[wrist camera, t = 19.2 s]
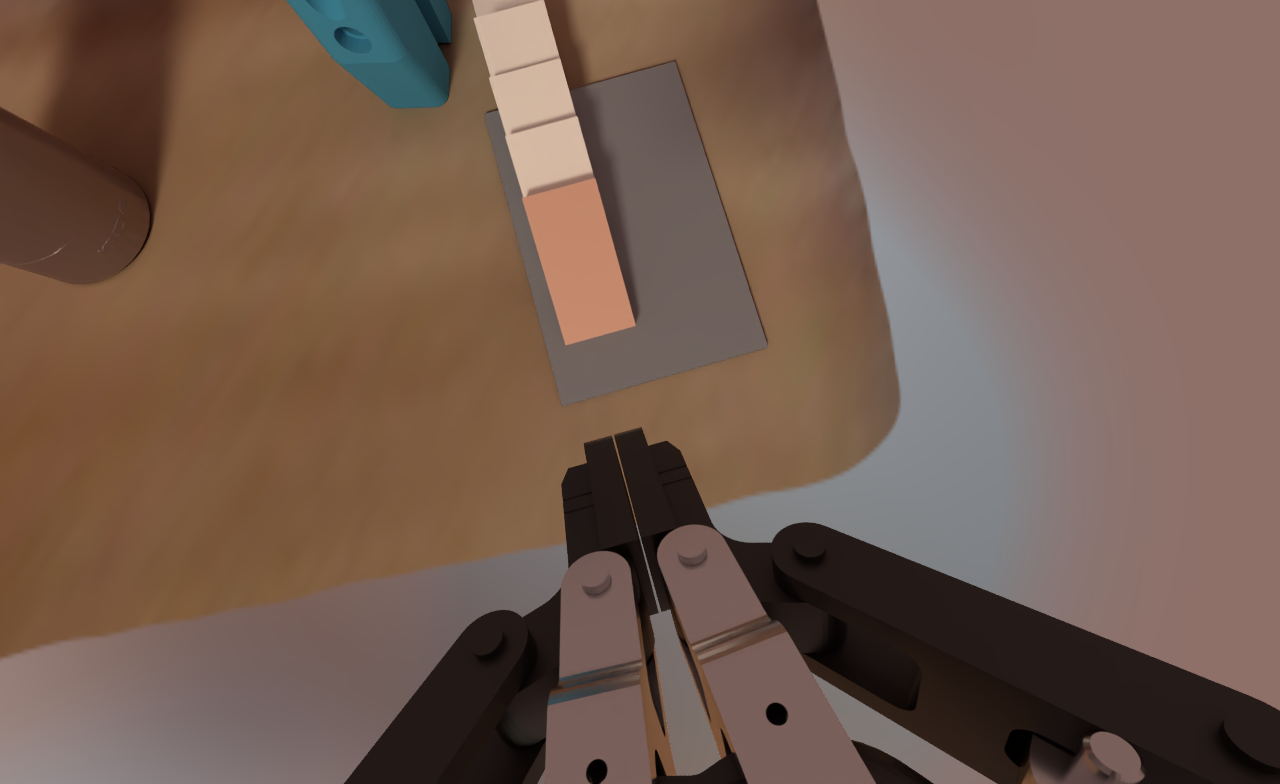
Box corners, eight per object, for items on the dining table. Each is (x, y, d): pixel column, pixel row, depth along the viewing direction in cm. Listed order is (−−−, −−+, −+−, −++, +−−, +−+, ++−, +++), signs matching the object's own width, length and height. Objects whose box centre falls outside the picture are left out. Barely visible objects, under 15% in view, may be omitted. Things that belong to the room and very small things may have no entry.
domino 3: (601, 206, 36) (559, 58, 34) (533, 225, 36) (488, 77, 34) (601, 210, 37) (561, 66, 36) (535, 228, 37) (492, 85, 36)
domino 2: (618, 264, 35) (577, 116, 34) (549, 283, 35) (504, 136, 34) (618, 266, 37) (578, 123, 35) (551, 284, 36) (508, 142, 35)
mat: (766, 347, 36) (768, 346, 36) (563, 406, 36) (562, 405, 35) (674, 65, 39) (674, 61, 38) (485, 117, 39) (484, 114, 38)
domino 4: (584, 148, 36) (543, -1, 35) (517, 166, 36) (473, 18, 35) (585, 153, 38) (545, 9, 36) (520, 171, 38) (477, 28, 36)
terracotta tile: (635, 325, 35) (595, 177, 33) (565, 345, 35) (521, 197, 33) (635, 325, 36) (595, 182, 35) (567, 344, 36) (524, 202, 34)
